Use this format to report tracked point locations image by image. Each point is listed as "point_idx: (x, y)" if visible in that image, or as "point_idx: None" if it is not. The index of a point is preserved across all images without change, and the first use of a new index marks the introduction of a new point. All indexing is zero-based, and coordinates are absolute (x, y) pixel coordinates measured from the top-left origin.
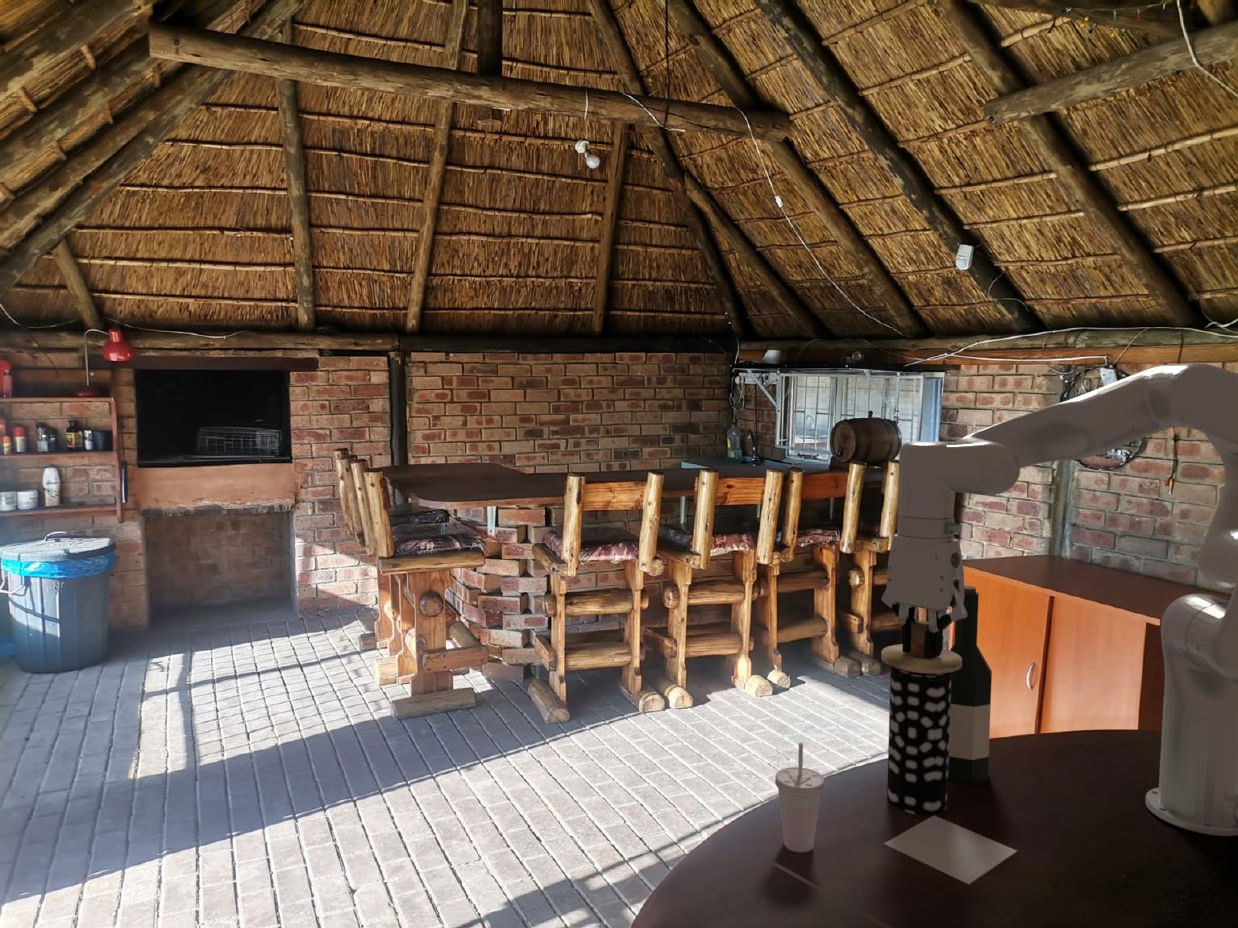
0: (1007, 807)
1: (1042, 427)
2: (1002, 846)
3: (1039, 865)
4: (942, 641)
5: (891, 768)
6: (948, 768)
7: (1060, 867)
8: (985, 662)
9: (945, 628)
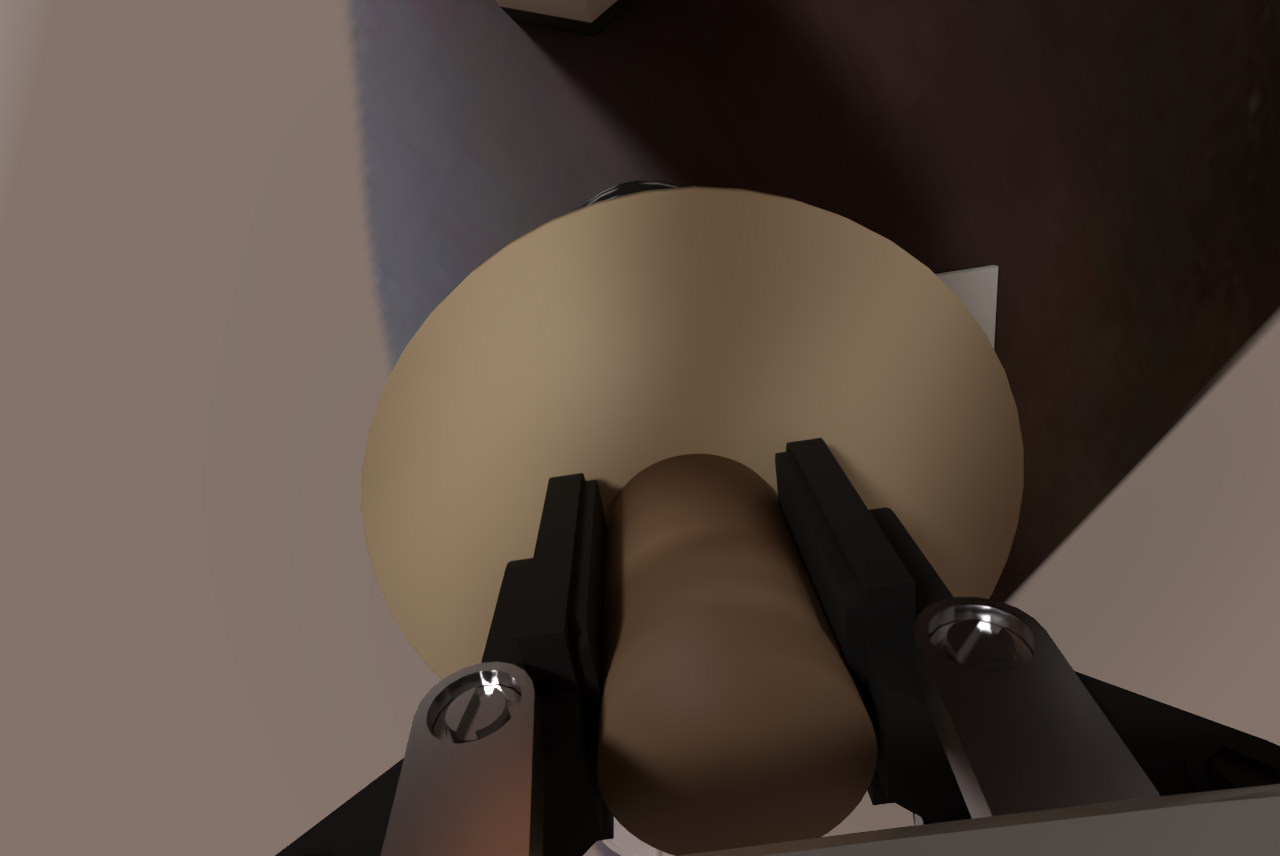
0: (832, 17)
1: None
2: (959, 282)
3: (1060, 264)
4: (918, 551)
5: None
6: (586, 28)
7: (1105, 222)
8: None
9: (1002, 613)
